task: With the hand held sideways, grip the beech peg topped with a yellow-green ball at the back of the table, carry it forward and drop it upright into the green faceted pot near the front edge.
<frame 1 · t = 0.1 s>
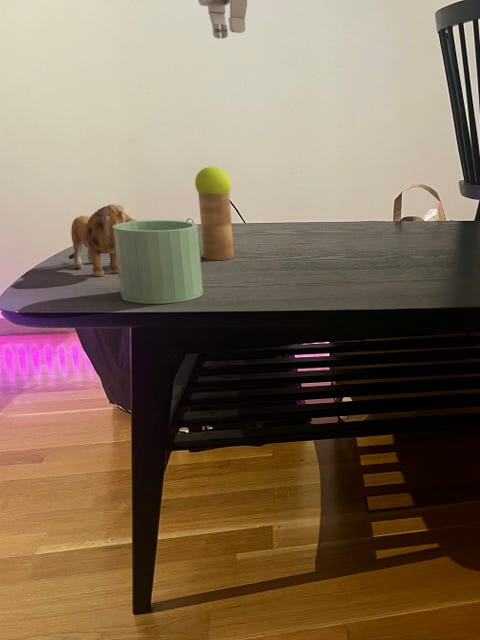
hand: (228, 35, 100), 31 cm above the table, tool pointing down, fingers open, 8 cm apart
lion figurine: (103, 271, 92), on the table
green faceted pot: (163, 294, 81), on the table
ball peg: (219, 257, 104), on the table
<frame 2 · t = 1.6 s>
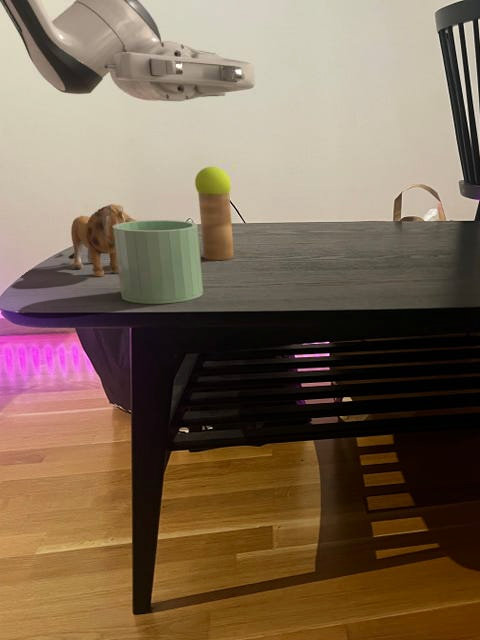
hand: (209, 70, 102), 26 cm above the table, tool horizontal, fingers open, 8 cm apart
nothing on the table moved.
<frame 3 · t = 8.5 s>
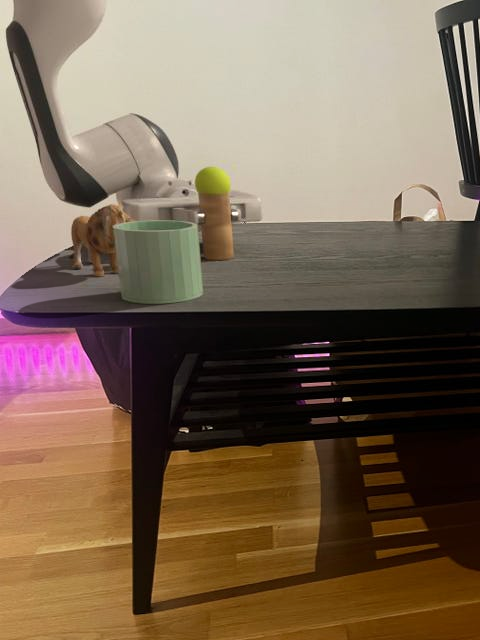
hand: (218, 217, 101), 6 cm above the table, tool horizontal, fingers closed on ball peg, 4 cm apart
ball peg: (219, 257, 104), on the table, touching gripper
everything else where it was.
when the fingers open (14 cm above the table, at t = 17.4 s): ball peg drops 7 cm, resting on green faceted pot.
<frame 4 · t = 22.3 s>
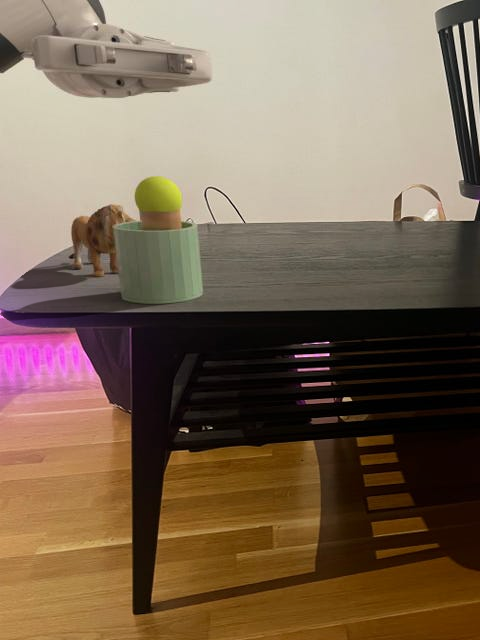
hand: (151, 58, 82), 26 cm above the table, tool horizontal, fingers open, 8 cm apart
ball peg: (168, 291, 81), resting on green faceted pot
everything else where it was.
at the end: ball peg 0.6 cm off-centre in the green faceted pot, point 0.4 cm above the green faceted pot's base; ball peg tilted 0°; the gripper is holding nothing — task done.
